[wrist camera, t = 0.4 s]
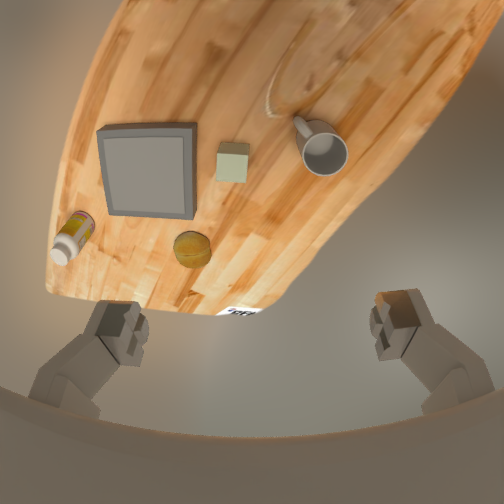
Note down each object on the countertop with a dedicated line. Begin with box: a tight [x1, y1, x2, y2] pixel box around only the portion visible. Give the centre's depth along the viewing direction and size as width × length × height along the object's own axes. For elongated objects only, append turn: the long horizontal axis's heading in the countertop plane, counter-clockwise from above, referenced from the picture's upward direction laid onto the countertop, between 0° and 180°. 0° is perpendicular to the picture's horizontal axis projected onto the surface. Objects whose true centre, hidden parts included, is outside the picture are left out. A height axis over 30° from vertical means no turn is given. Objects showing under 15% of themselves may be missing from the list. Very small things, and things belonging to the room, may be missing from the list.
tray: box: [96, 123, 197, 220], centre depth 51 cm, size 18×18×4 cm
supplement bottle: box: [50, 212, 94, 266], centre depth 56 cm, size 7×7×13 cm
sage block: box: [216, 142, 249, 183], centre depth 49 cm, size 5×5×6 cm
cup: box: [293, 116, 348, 176], centre depth 45 cm, size 7×10×9 cm
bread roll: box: [173, 232, 211, 268], centre depth 64 cm, size 8×9×4 cm
